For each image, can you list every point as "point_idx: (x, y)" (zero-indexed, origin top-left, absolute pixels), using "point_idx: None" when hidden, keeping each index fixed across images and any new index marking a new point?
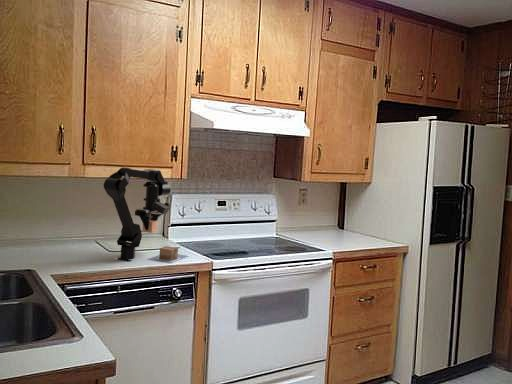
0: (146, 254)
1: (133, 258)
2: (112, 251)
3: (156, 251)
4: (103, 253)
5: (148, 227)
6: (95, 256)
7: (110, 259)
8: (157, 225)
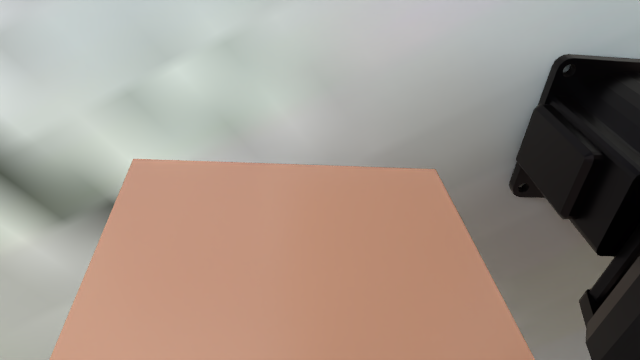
0: (274, 89)
1: (630, 75)
2: None
3: (38, 68)
4: None
5: None
6: (560, 342)
7: None
8: (87, 297)
